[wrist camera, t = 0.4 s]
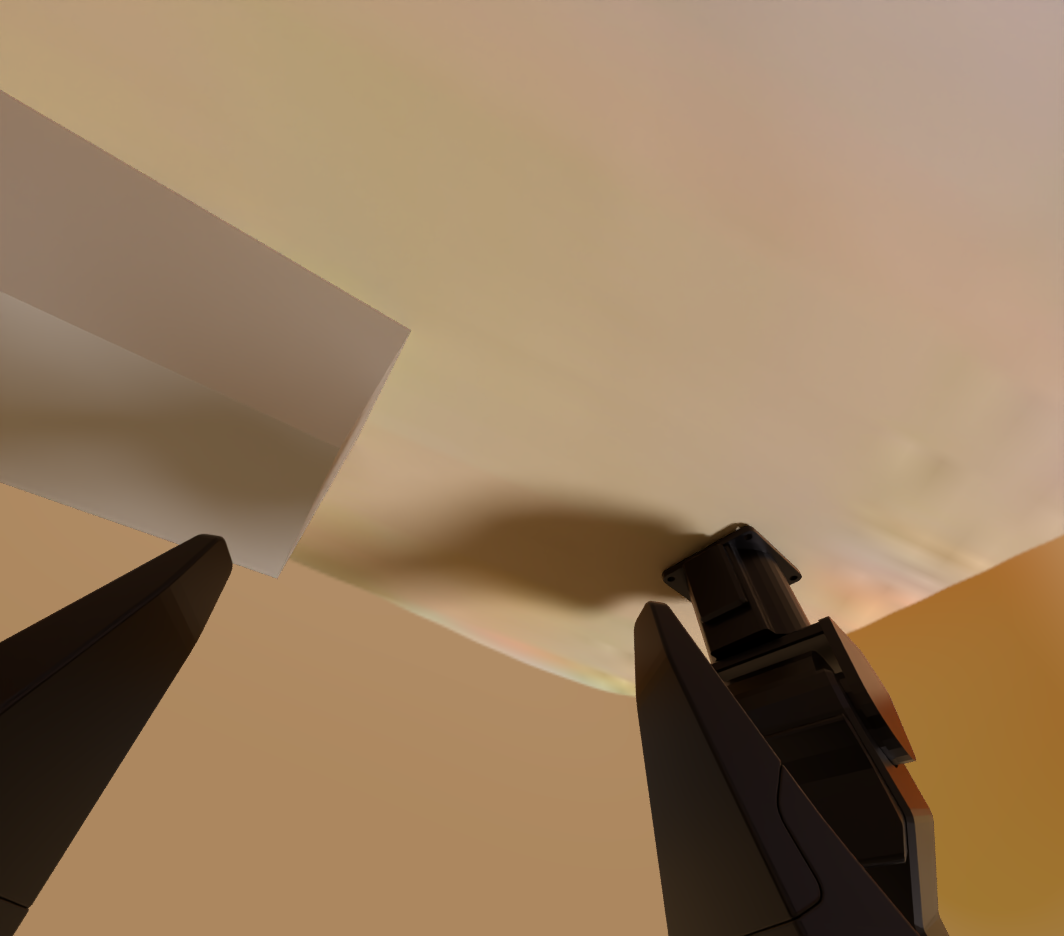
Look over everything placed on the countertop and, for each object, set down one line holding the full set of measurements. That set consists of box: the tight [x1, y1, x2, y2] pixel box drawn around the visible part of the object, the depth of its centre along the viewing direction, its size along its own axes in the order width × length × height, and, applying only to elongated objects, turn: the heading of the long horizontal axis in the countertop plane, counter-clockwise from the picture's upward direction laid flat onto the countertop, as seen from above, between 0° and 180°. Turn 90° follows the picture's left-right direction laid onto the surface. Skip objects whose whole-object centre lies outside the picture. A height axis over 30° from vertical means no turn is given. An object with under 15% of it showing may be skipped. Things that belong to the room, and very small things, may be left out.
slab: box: [0, 90, 411, 578], centre depth 15 cm, size 16×7×9 cm, turn 57°
